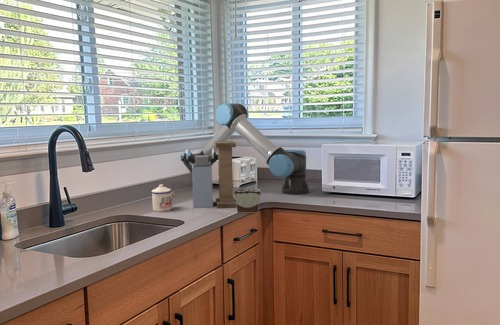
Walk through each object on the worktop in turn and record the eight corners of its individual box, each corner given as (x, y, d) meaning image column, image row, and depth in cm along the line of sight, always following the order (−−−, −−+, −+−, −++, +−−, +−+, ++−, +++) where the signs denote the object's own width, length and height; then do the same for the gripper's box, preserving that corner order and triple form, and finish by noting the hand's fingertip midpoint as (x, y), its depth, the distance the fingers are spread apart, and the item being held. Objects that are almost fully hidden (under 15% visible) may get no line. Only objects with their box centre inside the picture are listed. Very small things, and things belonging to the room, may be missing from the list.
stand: (215, 202, 216) (214, 141, 213) (233, 201, 218) (232, 141, 214) (217, 208, 203) (215, 143, 199) (237, 207, 204) (235, 142, 200)
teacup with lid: (160, 212, 196) (159, 187, 194) (148, 210, 201) (147, 185, 200) (181, 208, 205) (180, 183, 203) (168, 205, 210) (167, 181, 209)
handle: (194, 161, 223) (194, 153, 222) (206, 160, 224) (206, 153, 223) (195, 165, 204) (195, 157, 204) (208, 165, 205) (208, 156, 204)
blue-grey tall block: (193, 202, 216) (191, 163, 214) (211, 202, 217) (210, 162, 215) (193, 207, 205) (192, 166, 203) (212, 206, 206) (211, 165, 204)
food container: (262, 209, 198) (262, 187, 197) (261, 212, 192) (261, 190, 191) (235, 209, 199) (235, 187, 198) (233, 212, 193) (233, 190, 192)
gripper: (222, 172, 247) (224, 156, 227) (177, 174, 243) (175, 158, 224) (221, 160, 250) (223, 143, 230) (177, 162, 246) (175, 145, 227)
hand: (200, 151), depth 227 cm, fingers open, 13 cm apart
